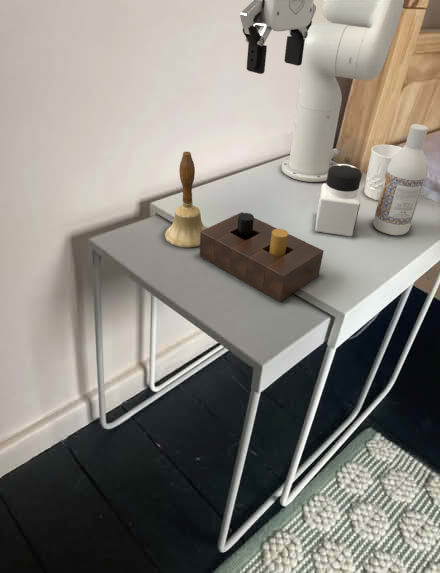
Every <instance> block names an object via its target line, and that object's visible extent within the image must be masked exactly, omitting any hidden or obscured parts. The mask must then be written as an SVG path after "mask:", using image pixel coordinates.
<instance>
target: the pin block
mask: <svg viewBox="0 0 440 573" xmlns="http://www.w3.org/2000/svg"><path fill="white" fill-rule="evenodd" d="M241 213H244V211H241V212H239V213H236V214H234V215H233V216H230V217H228V218H226V219H224V220H222V221H219V222H218V223H216V224H213V225H211V226H209V227H206V229H205V230H203V231H201V232H200V246H199V257H200V258H202V259H203V260H205V261H206V262H209V263H210V264H213V265H214V266H215V267H217V268H218V269H221V270H222V271H224V272H226V273H228V274H229V275H231V276H232V277H235V278H237V279H238V280H239V281H242V282H244V283H245V284H247V285H248V286H251V287H253V288H254V289H255V290H257V291H259V292H261V293H263V294H265V295H266V296H268V297H270V298H272V299H274V300H275V301H276V302H279V303H281V302H283V301H284V300H285V299H287V298H289V297H290V296H291V295H293V294H294V293H296V292H297V291H299V290H300V289H302V288H303V287H305V286H306V285H308V284H309V283H310V282H312V281H314V280H315V279H316V278H317V277H319V276H320V271H321V268H322V262H323V257H324V252H325V250H323V249H321V248H319V247H317V246H315V245H313V244H311V243H308V242H306V241H304V240H302V239H300V238H298V237H296V236H294V235H292V234H289V233H288V239H287V246H286V252H285V255H284V256H283V257H281V258H279V257H277V256H275V255H273V254H271V253H269V250H270V242H271V234H272V231H273V230H274V229H278V228H277V227H274V226H273V225H271V224H268V223H267V222H265V221H262V220H260V219H258V218H256V217H254V223H253V233H252V238H250V239H248V240H246V241H245V240H244V239H242V238H240V237H238V236H237V227H238V216H239V214H241Z"/></svg>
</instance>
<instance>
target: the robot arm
mask: <svg viewBox="0 0 440 573" xmlns="http://www.w3.org/2000/svg"><path fill="white" fill-rule="evenodd" d="M404 3H405V0H323V1H322V10H321V11H322V15H323V17H324V18H325V20H326V21H328V22H315V23H313V18H314V16H315V13H316V11H317V5H315V4H314V0H251V2H250V3H249V4H248V5H247V6H246V7H245V8H244V9H243V10H242V11H241V12H240V14H239V16H240V22H241V26H242V33H243V35H244V37H245V42H246V44H247V59H246V71H247V72H251V73H255V74H259V75H262V74H264V73H265V71H266V60H267V52H268V51H267V50H268V45H265V43H266V41H267V39H268V38H269V36H270V34H271V31H274V32H285V31H288V33H289V35H287V36H286V42H285V52H284V59H283V60H284V62H285V63H286V64H290V65H294V66H299V84H298V93H297V100H296V107H295V114H294V122H293V123H294V124H293V128H292V137H291V143H290V144H291V145H290V152H289V158H288V159H286V160H283V162H282V163H281V171H282V173H283V174H284V175H286V176H287V177H289V178H291V179H294V180H297V181H301V182H306V183H322V182H326V181H327V176H328V170H329V168H330V167H331V166H333V165H332V164H331V161H332V160H333V159H334V158H336V157H338V156H339V155H340V150H339V149H338V148H334V144H335V139H336V138H335V137H336V133H337V128H338V122H339V119H340V118H339V117H340V111H341V108H342V101H343V97H342V96H343V95H342V90H341V87H340V84H339V82H338V80H337V78H338V77H339V78H345V79H350V80H358V81H364V82H366V81H367V82H368V81H372V80H375V79H376V78H378V76H379V75H380V73H381V72H382V70H383V68H384V66H385V63H386V60H387V56H388V54H389V52H390V48H391V45H392V43H393V39H394V37H395V33H396V31H397V27H398V24H399V21H400V18H401V16H402V12H403V8H404ZM312 23H313V24H312ZM259 30H260V31H261V32H259ZM336 77H337V78H336Z"/></svg>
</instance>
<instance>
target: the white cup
mask: <svg viewBox="0 0 440 573" xmlns="http://www.w3.org/2000/svg"><path fill="white" fill-rule="evenodd" d="M402 148H403V147H401V146H399V145H394V144H376V145H375V144H374V145H373V146H372V147H371V149H370V156H369V161H368V164H367V165H368V167H367V171H366V172H367V173H366V177H365V185H364V190H363V192H364V195H365V196H366V197H368V198H369V199H371V200H375V201H379V198H380V194H381V190H382V186H383V182H384V179H385V175H386V171H387V168H388V165H389V163H390V161H391V159H392V158H393V157H394V156H395V154H396V153H397V152H398V151H400V150H401V149H402Z"/></svg>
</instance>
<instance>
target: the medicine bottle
mask: <svg viewBox="0 0 440 573" xmlns="http://www.w3.org/2000/svg"><path fill="white" fill-rule="evenodd" d="M362 176H363V173H362V171H361V169H359V168H358V167H356V166H354V165H352V164H348V163H337V164H333V165H332V166H331V167H330V168H329V170H328V176H327V181H325V182H324V183H322V184H321V189H320V194H319V200H318V205H317V209H316V210H317V211H316V217H315V225H314V226H315V227H314V231H315V232H316V233H323V234H331V235H338V236H345V237H353V235H354V232H355V228H356V224H357V220H358V215H359V211H360V207H361V195H360V194H361V193H360V185H361V182H362Z"/></svg>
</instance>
